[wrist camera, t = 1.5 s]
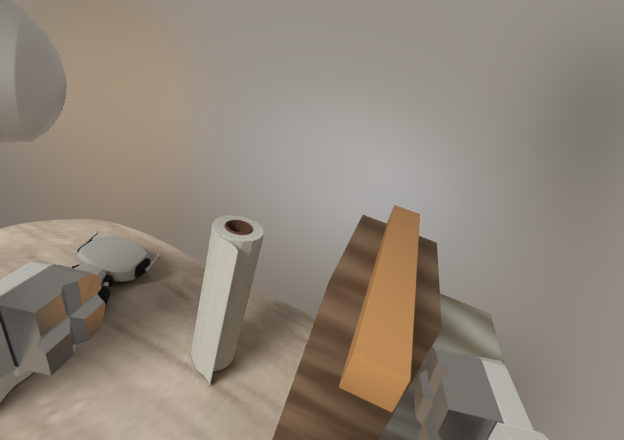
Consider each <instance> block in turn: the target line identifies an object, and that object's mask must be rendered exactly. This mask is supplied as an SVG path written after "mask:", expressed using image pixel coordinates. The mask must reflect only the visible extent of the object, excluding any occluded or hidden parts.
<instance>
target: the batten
mask: <svg viewBox="0 0 624 440" xmlns="http://www.w3.org/2000/svg"><path fill="white" fill-rule="evenodd" d="M419 222H420V214H417V213H415V212H412V211H409V210H406V209H404V208H401V207H398V206H396V205H395V206H394V208H393V210H392V213H391V215H390V218H389V220H388V222H387V225H386V229H385V232H384V235H383V239H382V242H381V245H380V249H379V252H378V256H377V259H376V262H375V266H374V269H373V273H372V276H371V279H370V283H369V286H368V289H367V293H366V296H365V300H364V303H363V306H362V310H361V313H360V316H359V320H358V323H357V327H356V330H355V333H354V337H353V340H352V344H351V347H350V350H349V354H348V357H347V360H346V364H345V367H344V371H343V374H342V377H341V381H340V384H339V388H341V389H343V390H345V391H348V392H350V393H352V394H354V395H356V396H358V397H360V398H362V399H364V400H367V401H369V402H371V403H373V404H375V405H377V406H379V407H381V408H384V409H386V410H388V411H390V412H393V410H394V408H395V406H396V405H397V403H398V401H399V399H400V398H401V396H402V394H403V392H404V391H405V389H406V387H407V385H408V384H409V382H410V378H411V361H412V344H413V326H414V309H415V291H416V274H417V256H418V239H419Z"/></svg>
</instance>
